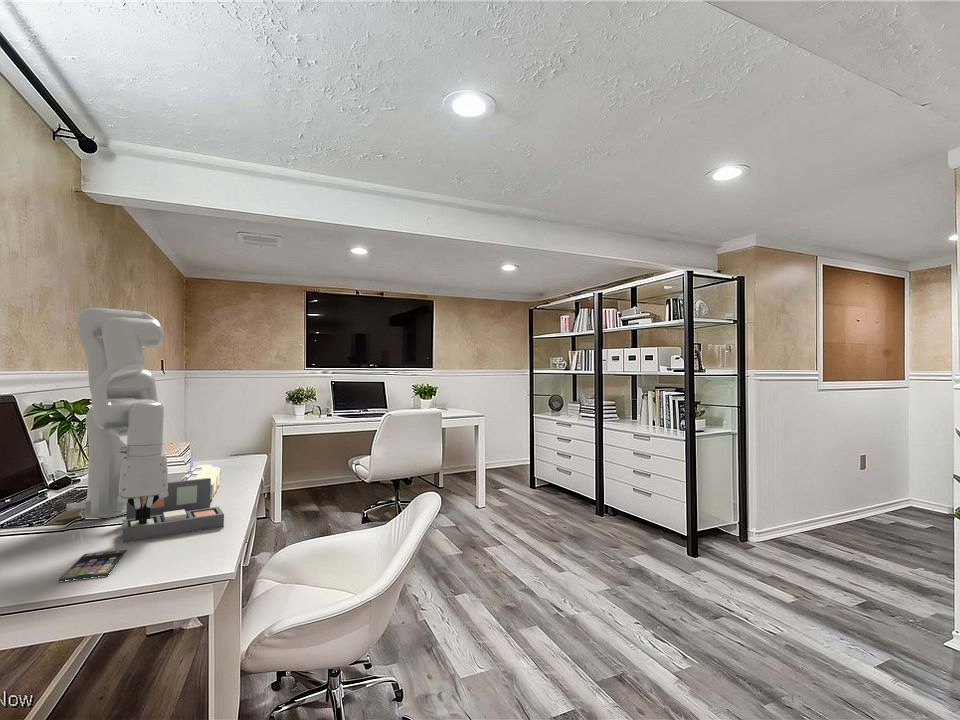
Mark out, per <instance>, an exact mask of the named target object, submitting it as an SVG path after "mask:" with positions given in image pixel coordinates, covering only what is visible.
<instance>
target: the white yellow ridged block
mask: <svg viewBox="0 0 960 720" xmlns="http://www.w3.org/2000/svg"><path fill="white" fill-rule="evenodd" d="M189 460H190V464H189V469H188V470H187V472H186V473H185V475H184V476H182V478H181V479H180V480H179V481H185V480H194V479H203V478H211V490H210V501H211V500H212V499H213V498H214V495H215V493H216V491H217V489H218V487H219V485H220V482H221V480H222V479H221V476H222V475H221V473H222V469H221V468H220V467H218V466H214V465H213V464H210V463H209V464H198V465H197V466H196V467H194V455H193V452H190V458H189ZM192 476H193V477H192Z"/></svg>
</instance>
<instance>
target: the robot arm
mask: <svg viewBox="0 0 960 720" xmlns="http://www.w3.org/2000/svg"><path fill="white" fill-rule="evenodd" d="M76 317H77V318H76V333H77V337H78V339H79V342H80V345H81V346H82V348H83V350H84V353H85V356H86V361H87V374H88V375H87V377H88V385H89V392H90V394H91V408H90V409H89V410H88V411H87V412H86V415H85V426H86V432H87V440H88V464H87V468H88V469H87V491H86V492H87V494H86V498H85V500H82V501H80V502H70V503H66V504H65V505H66V506H65V512H68V511H71V512H77V511H80V512H79V517H80V516H81V517H83V518H108V519H110V518H109V517H114V518H116V517H115V516H119V515H123V514H125V513H126V510H127V503H129V504H131V505H132V506H133V507H135V508H136V521H138V520H139V525H140V524H143V523H144V524H146V523H147V519H150V507H151V506H152V505H153V504H154V503H155V502H156V501H157V500H158V499H161V498H164V497H167V496H168V495H169V494H168V482H169V467H168V457H167V454H166V453H163V445H164V441H163V440H164V417H165V416H164V414H165V412H164V410H165V407H164V405H163V404H162V403H161V402H159V401H158V393H157V384H156V380H155V377H154V374H153V373H151V371H149V370H148V369H145V368H146V360H145V354H144V350H143V348H147V349H148V348H149V349H157V348H159V347H160V346H161V345H162V344H163V342H164V339H165V338H164V337H165V335H164V329H163V326H162V324H161V323H160V322H159V320H157V319H156V318H154V317H153V316H152V315H151V314H149V313H147V312H146V311H145V312H144V311H138V310H126V309H116V308H107V307H106V308H105V307H91V308H85V309H83V310H81V311H80V312H79V313H78V315H77V316H76ZM121 437H127V439H126V441H127V442H126V443H125V442H124V441H122V440H121ZM139 497H147V499H146V503H145V504H144V506H142V504H141V503H140V498H139ZM123 516H124V515H123ZM119 517H120V516H119Z"/></svg>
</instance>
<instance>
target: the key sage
mask: <svg viewBox="0 0 960 720" xmlns="http://www.w3.org/2000/svg"><path fill="white" fill-rule="evenodd" d="M153 523H154V520H153V519H147V523H146V524H153ZM146 524H144V523H143V524H140V525H146ZM140 525H139V521H132V522H131V523H130V527H133V526H140Z"/></svg>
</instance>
